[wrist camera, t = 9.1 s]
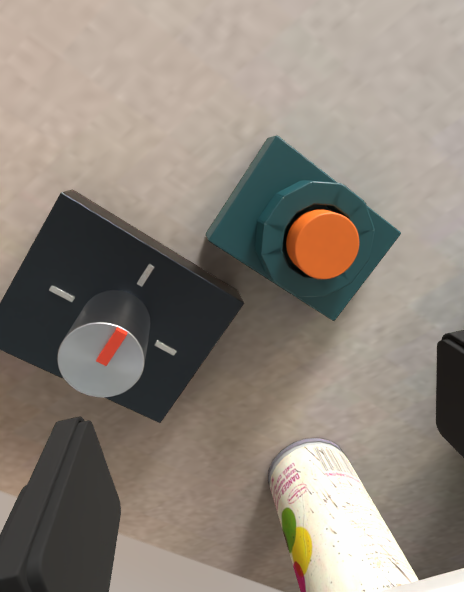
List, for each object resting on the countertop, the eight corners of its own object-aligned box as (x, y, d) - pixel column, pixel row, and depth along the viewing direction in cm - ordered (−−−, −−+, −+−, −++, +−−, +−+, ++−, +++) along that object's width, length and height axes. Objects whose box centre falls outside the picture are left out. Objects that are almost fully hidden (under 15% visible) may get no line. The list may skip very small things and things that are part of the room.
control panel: (-3, 323, 25) (-23, 341, 22) (72, 189, 23) (60, 192, 20) (161, 402, 28) (160, 425, 26) (238, 290, 26) (245, 304, 24)
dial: (128, 362, 24) (116, 414, 19) (68, 331, 23) (39, 378, 18) (163, 311, 23) (160, 351, 18) (102, 277, 22) (82, 309, 17)
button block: (205, 234, 25) (210, 246, 21) (268, 137, 23) (285, 131, 20) (322, 310, 28) (345, 333, 24) (384, 227, 26) (419, 238, 23)
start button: (273, 250, 22) (281, 257, 20) (311, 196, 21) (322, 198, 20) (320, 282, 23) (332, 291, 21) (358, 231, 22) (373, 237, 21)
